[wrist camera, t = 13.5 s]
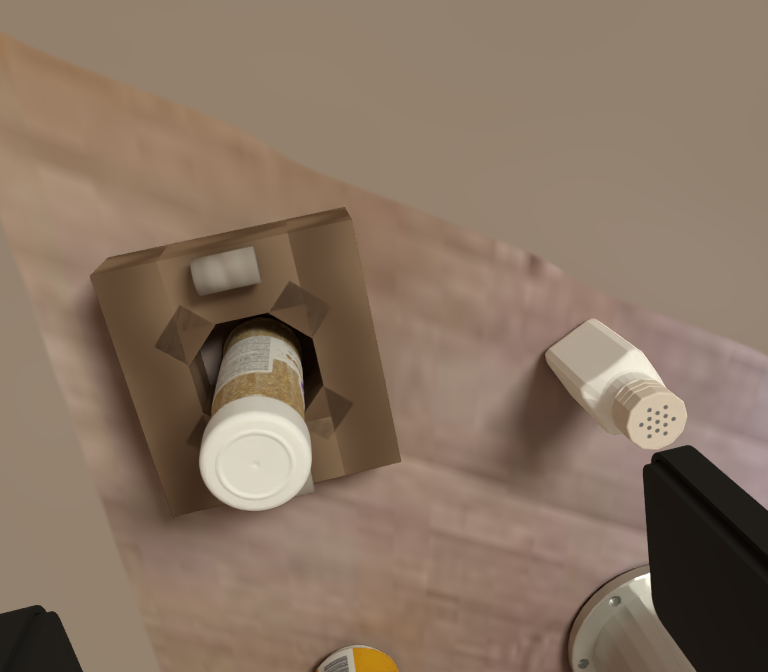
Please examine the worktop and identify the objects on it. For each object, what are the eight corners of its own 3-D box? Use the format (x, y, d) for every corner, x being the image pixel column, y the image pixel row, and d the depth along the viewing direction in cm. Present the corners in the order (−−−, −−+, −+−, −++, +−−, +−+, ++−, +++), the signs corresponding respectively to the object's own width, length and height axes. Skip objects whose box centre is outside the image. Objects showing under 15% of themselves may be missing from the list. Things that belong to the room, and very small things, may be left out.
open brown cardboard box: (344, 207, 39) (355, 225, 34) (390, 430, 44) (406, 477, 39) (107, 257, 38) (80, 285, 33) (181, 479, 43) (167, 536, 38)
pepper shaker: (537, 351, 44) (604, 418, 35) (591, 311, 44) (672, 368, 35) (571, 397, 45) (643, 472, 36) (623, 358, 45) (709, 425, 36)
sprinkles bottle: (310, 377, 42) (324, 499, 30) (234, 396, 42) (216, 527, 29) (290, 305, 41) (296, 401, 28) (212, 324, 40) (182, 431, 28)
